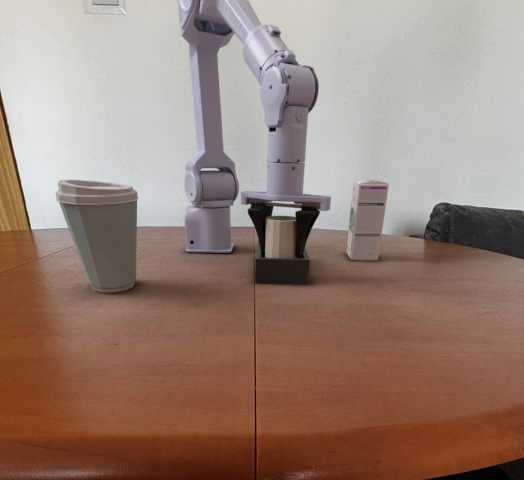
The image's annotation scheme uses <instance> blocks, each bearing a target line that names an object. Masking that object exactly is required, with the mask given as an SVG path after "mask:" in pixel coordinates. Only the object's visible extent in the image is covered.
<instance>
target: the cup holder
mask: <svg viewBox="0 0 524 480" xmlns="http://www.w3.org/2000/svg"><path fill="white" fill-rule="evenodd" d="M254 263H255V265H254V267H255V268H254V269H255V271H254V272H255V273H254V275H255V276H254V280H255V281H254V284H281V285H282V284H283V285H308V284H309V276H310V264H311V259H310V257H309V254H308V251H307V249H306V248H305V249H304V253H303V255H301V256H300V257H299V258H265V252H261V249H260V244H259V240H258V239H257V246H256V252H255V262H254Z"/></svg>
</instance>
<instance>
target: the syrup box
mask: <svg viewBox="0 0 524 480" xmlns="http://www.w3.org/2000/svg"><path fill="white" fill-rule="evenodd" d="M389 186H390V183H389V182H385V181H381V180H373V179H372V180H371V179H362V180H354V181H353V185H352V195H351V203H350V211H349V222H348V230H347V239H346V249H345V254H346V256H347V257H348V258H349V260H351V261H361V262H362V261H364V262H367V261H369V262H370V261H371V262H374V261H375V262H377V261H378V260H379V255H380V249H381V248H380V247H381V242H382V236H383V228H384V221H385V216H386V215H385V214H386V206H387V198H388V193H389Z"/></svg>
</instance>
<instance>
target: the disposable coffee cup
mask: <svg viewBox="0 0 524 480" xmlns="http://www.w3.org/2000/svg"><path fill="white" fill-rule="evenodd" d="M57 187H58V190H56V191H55V197H56V199H55V201H56V202H58V204H59V206H60V210H61V211H62V214H63V217H64V221H65V223H66V225H67V228H68V231H69V233H70V236H71V240H72V242H73V244H74V247H75V250H76V253H77V255H78V257H79V260H80V263H81V266H82V269H83V271H84V275H85V277H86V279H87V282H88V284H89V285H90V287H91V288H92V290H94V292H98V293H102V294H106V293H107V294H111V293H114V294H115V293H120V292H121V293H122V292H125V291H128V290H130V289H133V288H134V286H135V284H136V283H135V282H136V280H137V245H138V244H137V241H138V239H137V236H138V199H139V197H138V191H137V190H136V189H134V188H133V186H132V185H129V184H124V183H117V182H108V181H100V180H99V181H98V180H85V179H84V180H83V179H61V180H58V181H57Z"/></svg>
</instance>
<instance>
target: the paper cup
mask: <svg viewBox="0 0 524 480" xmlns="http://www.w3.org/2000/svg"><path fill="white" fill-rule="evenodd" d="M296 238H297V228H296V216H295V215H272V216H268V217H266V241H265V258H299V257H298V256H295V248H296Z"/></svg>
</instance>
